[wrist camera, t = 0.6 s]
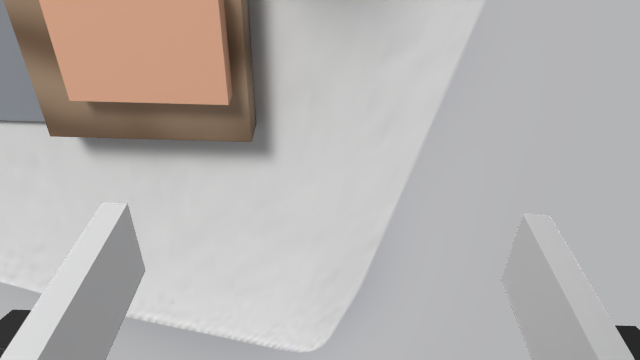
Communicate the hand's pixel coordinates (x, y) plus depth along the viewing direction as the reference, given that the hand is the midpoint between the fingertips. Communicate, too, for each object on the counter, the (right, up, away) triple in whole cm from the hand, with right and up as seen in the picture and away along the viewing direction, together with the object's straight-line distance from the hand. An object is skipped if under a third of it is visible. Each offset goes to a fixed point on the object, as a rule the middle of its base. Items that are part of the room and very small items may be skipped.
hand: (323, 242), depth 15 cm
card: (-11, +11, +15) cm, 21 cm away
